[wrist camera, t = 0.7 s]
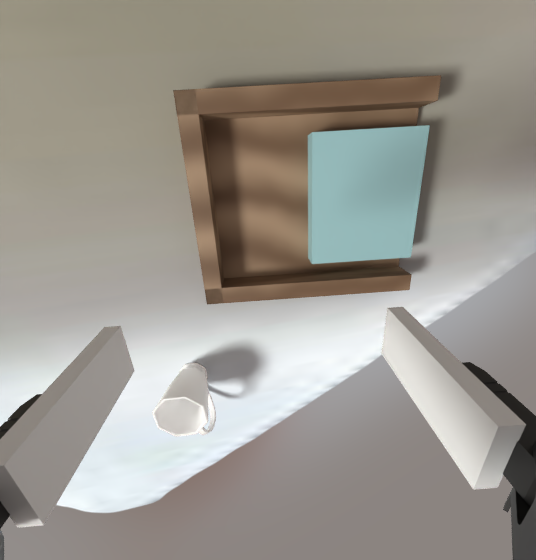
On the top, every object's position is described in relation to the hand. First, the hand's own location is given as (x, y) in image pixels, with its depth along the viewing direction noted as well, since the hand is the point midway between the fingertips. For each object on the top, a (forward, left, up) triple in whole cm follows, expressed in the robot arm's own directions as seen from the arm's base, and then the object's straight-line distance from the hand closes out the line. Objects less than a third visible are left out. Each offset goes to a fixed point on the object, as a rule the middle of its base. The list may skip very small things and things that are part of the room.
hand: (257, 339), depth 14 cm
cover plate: (-4, +13, -22) cm, 25 cm away
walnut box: (-4, +6, -22) cm, 24 cm away
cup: (+22, -10, -23) cm, 33 cm away
